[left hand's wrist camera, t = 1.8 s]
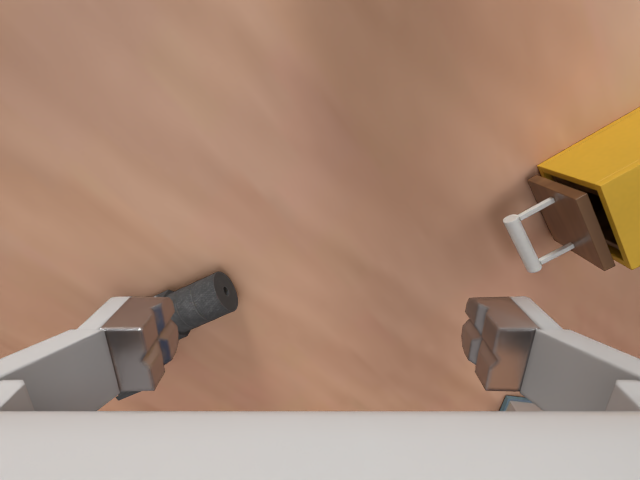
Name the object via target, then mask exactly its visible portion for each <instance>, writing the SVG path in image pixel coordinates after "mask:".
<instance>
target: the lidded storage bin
mask: <svg viewBox="0 0 640 480" xmlns="http://www.w3.org/2000/svg"><path fill="white" fill-rule="evenodd" d="M537 167H538V169H539V171H540V174H541V176H542V177H544V178H546V179H549V180H552V181H553V178H552V176H551V175H553V176H556V177H559V178H562V179H565V180H567V181H570V182H573V183H576V184H579V185H582V186H585V187H588V188H591V189H594V190H597V192H598V194H599V197H600V200H601V202H602V205H603V208H604V210H605V213H606V215H607V218H608V221H609V223H610V226H611V229H612V231H613V234H614V237H615V239H616V242H617V244H618V247H619V250H618V249H616V248H614V247H612V246H610V245H608V244H607V245H608V248H609V250H610V253H611V256H612V258H613V260H615V261H617V262H619V263H621V264H622V265H624V266H626V267H627V268H629V269H631V270H633V269H635V268H637V267H639V266H640V107H639V108H637V109H635V110H633V111H632V112H630V113H628V114H626V115H625V116H623V117H621V118H619V119H618V120H616V121H614V122H612V123H611V124H609V125H607V126H605V127H604V128H602V129H600V130H598V131H597V132H595V133H593V134H591V135H590V136H588V137H586V138H584V139H583V140H581V141H579V142H577V143H576V144H574V145H572V146H570V147H569V148H567V149H565V150H563V151H562V152H560V153H558V154H556V155H555V156H553V157H551V158H549V159H548V160H546V161H544V162H542V163H541V164H539V165H537Z"/></svg>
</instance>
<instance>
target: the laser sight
mask: <svg viewBox="0 0 640 480" xmlns="http://www.w3.org/2000/svg"><path fill="white" fill-rule="evenodd" d="M154 297H169V298H170V299H171V300H172V301H173V305H174V310H175V312H174V314H173V315H172V317H171V318H170V319H171V320H172V321H173V322H174V323H175V324H176V325H177V327H178V340H179V339H181V338H184V337H186V336H188V334H189V332H190V330H191V329H193V328H196V327H198V326H200V325H202V324H205V323H207V322H210V321H212V320H214V319H217V318H219V317H221V316H223V315H225V314H228V313H230V312H233V311H235V310H236V309H237V306H238V298H237V293H236V290H235V288H234V286H233V284H232V282H231V280H230V279H229V278H228V277H227V276H226V275H225V274H224V273H222V272H216V273H214V274H212V275H210V276H208V277H206V278H203V279H201V280H199V281H196V282H194V283H192V284H190V285H188V286H186V287H183V288H181V289H179V290H177V291H175V292H174V291H170V290H167V291H165V292H162V293H160V294H158V295H156V296H154ZM138 392H140V391H120V394H118V396H117V397H116V398H117V399H118V400H121V399H123V398H126V397H128V396H131V395H133V394H135V393H138Z"/></svg>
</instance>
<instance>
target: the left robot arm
mask: <svg viewBox="0 0 640 480" xmlns="http://www.w3.org/2000/svg"><path fill="white" fill-rule="evenodd" d="M174 312H175V310H174V305H173V301H172V300H171V299H170V298H169V297H132V296H126V297H111V298H110V299H109V300H108V301H107V302H106V303H105V304H104V305H102V306H101V307H100V308H99V309H98V310H97V311H96V312H95V313H94V314H93V315H92V316H91V317H90V318H89V319H87V320H86V321H85V322H84V323H83V324H82V325H81V326H80V327H79V328H78V329H77V330H68V331H66V332H64V333H61V334H59V335H56V336H54V337H52V338H49V339H47V340H44V341H42V342H40V343H37V344H35V345H32V346H30V347H28V348H25V349H23V350H21V351H18V352H16V353H13V354H11V355H9V356H6V357H4V358H1V359H0V480H640V359H638V358H636V357H634V356H631V355H629V354H627V353H624V352H622V351H619V350H617V349H615V348H612V347H610V346H607V345H605V344H603V343H600V342H598V341H596V340H593V339H591V338H588V337H586V336H584V335H581V334H579V333H576V332H574V331H572V330H563V329H562V328H561V327H560V326H559V325H558V324H557V323H556V322H555V321H554V320H553V319H552V318H550V317H549V316H548V315H547V314H546V313H545V312H544V311H543V310H542V309H541V308H540V307H539V306H538V305H537V304H535V303H534V302H533V301H532V300H531V299H530V298H528V297H525V296H519V297H480V298H469V300H468V302H467V304H466V309H465V312H466V314H467V315H468V317H469V318H470V319H469V320H468V321H467V322H466V323H465V324H464V325H463V328H462V335H461V337H462V347H463V350H464V353H465V355H466V357H467V359H468V360H469V361H471V362H472V363H474V364H475V365H476V368H475V373H476V375H477V376H478V378H479V380H480V381H481V383H482V385H483V387H484V388H485V390H486V391H520V393H521V394H522V395H523V396H525V397H526V398H527V399H529V400H530V401H531V402H532V403H534V404H535V405H536V406H538V407H539V408H540V409H542V410H543V411H97V410H98V409H100V408H101V407H102V406H104V405H105V404H106V403H108V402H109V401H110V400H112V399H113V398H114V397H116V396H117V395H118V394H120V391H154V390H155V388H156V387H157V385H158V383H159V381H160V380H161V378H162V376H163V375H164V373H165V368H164V365H165V364H166V363H168V362H169V361H171V360H172V359H173V357H174V355H175V353H176V350H177V346H178V327H177V325H176V324H175V323H174V322H173V321H172V320H171V319H170V318H171V317H172V315H173V314H174Z"/></svg>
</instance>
